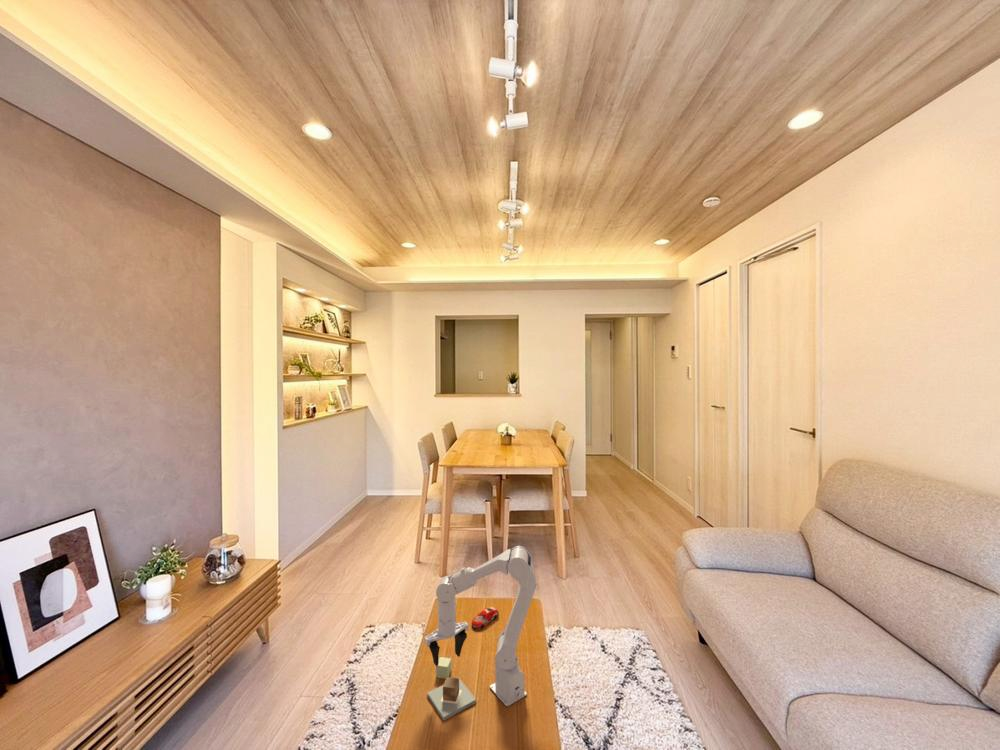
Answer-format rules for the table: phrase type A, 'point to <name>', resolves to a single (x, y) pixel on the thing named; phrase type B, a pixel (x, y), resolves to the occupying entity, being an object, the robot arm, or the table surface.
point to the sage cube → (443, 668)
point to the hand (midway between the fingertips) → (446, 659)
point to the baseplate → (451, 707)
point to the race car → (485, 618)
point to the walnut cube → (451, 689)
